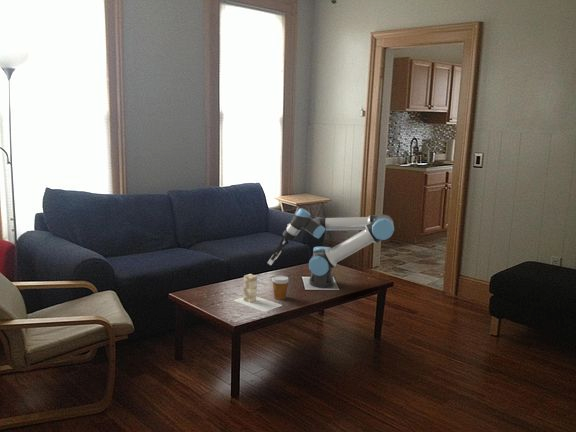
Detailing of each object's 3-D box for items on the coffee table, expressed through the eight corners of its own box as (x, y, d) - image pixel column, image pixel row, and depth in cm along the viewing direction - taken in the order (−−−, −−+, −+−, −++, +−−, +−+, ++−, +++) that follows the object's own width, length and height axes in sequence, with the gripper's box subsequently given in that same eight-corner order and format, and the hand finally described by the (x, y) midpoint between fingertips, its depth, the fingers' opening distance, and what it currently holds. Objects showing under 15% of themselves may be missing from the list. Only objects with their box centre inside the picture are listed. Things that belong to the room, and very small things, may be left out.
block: (243, 300, 290) (243, 275, 288) (249, 298, 294) (250, 273, 291) (249, 302, 287) (250, 277, 284) (256, 300, 291) (256, 275, 288)
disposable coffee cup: (289, 301, 293) (290, 280, 290) (272, 301, 291) (273, 280, 289) (287, 295, 302) (287, 275, 299) (270, 295, 300) (271, 275, 298)
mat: (232, 301, 290) (232, 300, 290) (251, 295, 300) (251, 294, 300) (264, 312, 274) (264, 311, 274) (282, 305, 285) (282, 305, 284)
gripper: (289, 225, 321) (270, 253, 325) (281, 232, 296) (261, 262, 301) (299, 232, 320) (280, 259, 325) (292, 240, 296) (272, 270, 301)
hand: (271, 261), depth 313 cm, fingers open, 13 cm apart
